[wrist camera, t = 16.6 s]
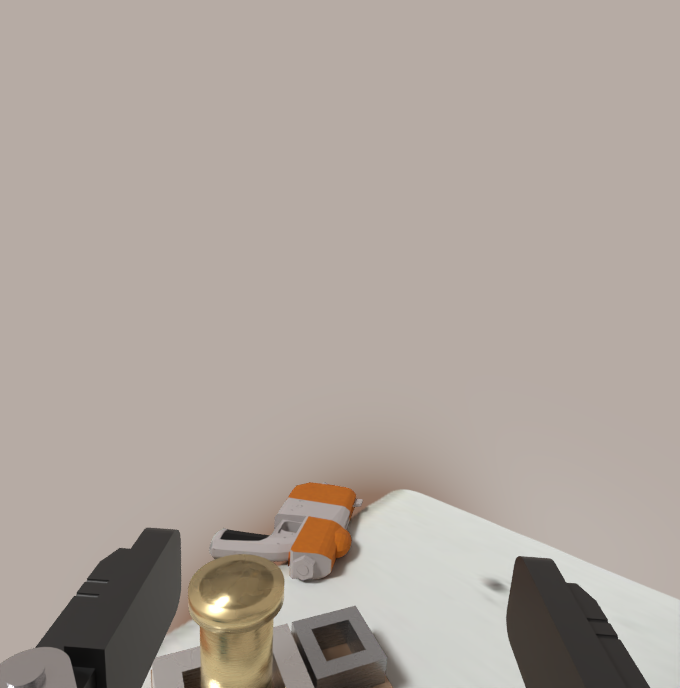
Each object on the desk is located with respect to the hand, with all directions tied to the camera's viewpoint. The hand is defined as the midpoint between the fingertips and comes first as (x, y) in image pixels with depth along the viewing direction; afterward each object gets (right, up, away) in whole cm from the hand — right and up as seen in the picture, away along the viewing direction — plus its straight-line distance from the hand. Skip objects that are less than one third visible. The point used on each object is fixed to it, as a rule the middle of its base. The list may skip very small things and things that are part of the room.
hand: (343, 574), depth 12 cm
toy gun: (-6, -18, +52) cm, 56 cm away
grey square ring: (0, -23, +32) cm, 39 cm away
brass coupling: (-8, -23, +25) cm, 35 cm away
